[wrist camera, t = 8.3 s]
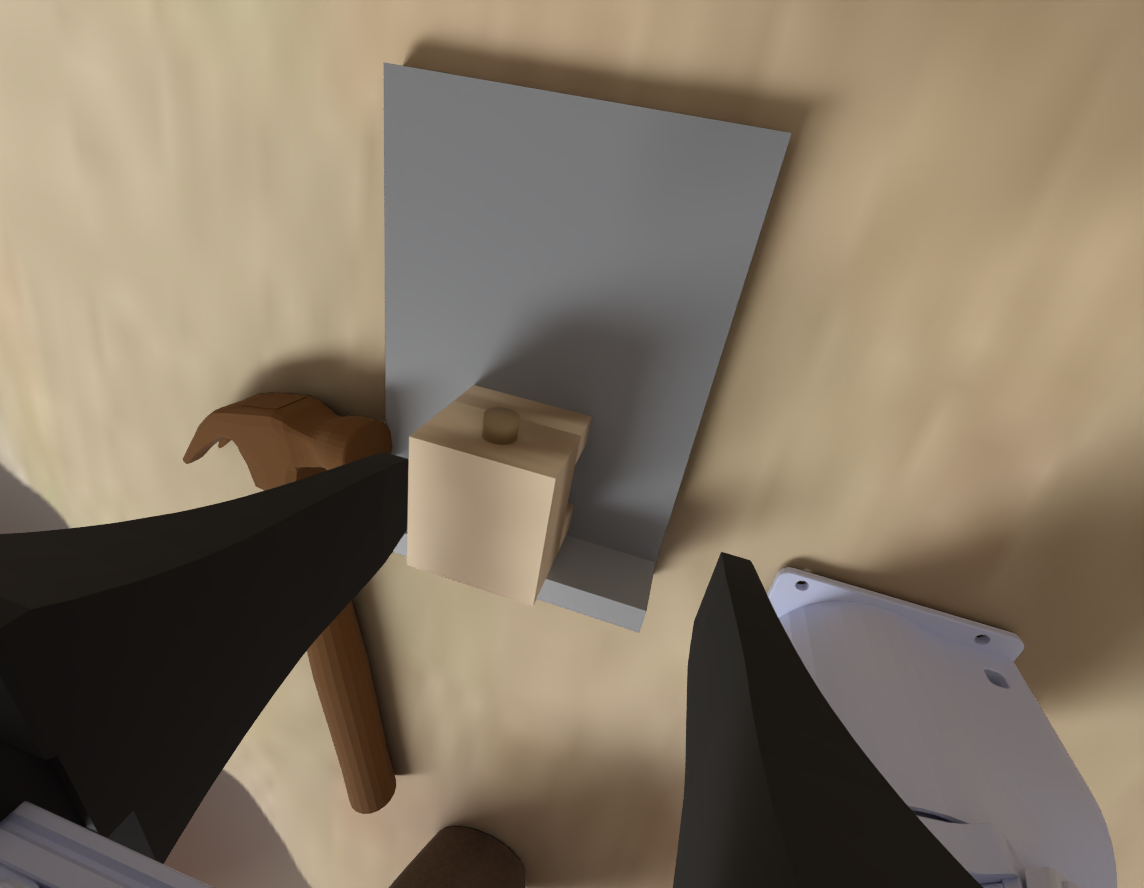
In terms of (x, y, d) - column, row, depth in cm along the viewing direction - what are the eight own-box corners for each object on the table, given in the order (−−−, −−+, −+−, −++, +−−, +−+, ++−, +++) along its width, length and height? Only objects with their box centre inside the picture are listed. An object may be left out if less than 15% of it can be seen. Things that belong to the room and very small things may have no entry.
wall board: (788, 135, 16) (804, 122, 13) (649, 577, 25) (636, 642, 21) (400, 68, 18) (321, 40, 14) (397, 499, 27) (347, 546, 23)
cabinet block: (595, 397, 20) (559, 456, 16) (569, 527, 23) (532, 606, 19) (475, 366, 21) (409, 414, 17) (464, 495, 24) (406, 564, 20)
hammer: (438, 798, 37) (391, 410, 23) (409, 844, 35) (335, 439, 21) (315, 729, 41) (211, 362, 27) (280, 765, 39) (145, 381, 25)
